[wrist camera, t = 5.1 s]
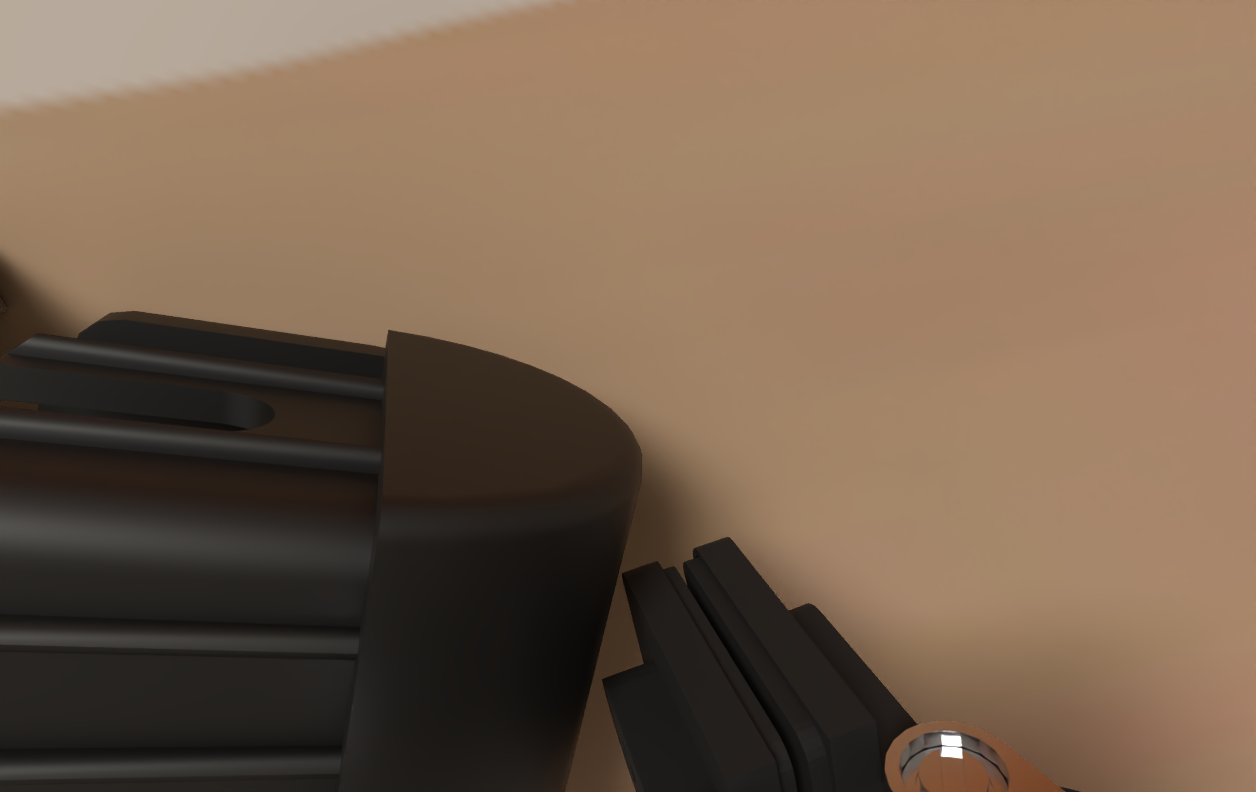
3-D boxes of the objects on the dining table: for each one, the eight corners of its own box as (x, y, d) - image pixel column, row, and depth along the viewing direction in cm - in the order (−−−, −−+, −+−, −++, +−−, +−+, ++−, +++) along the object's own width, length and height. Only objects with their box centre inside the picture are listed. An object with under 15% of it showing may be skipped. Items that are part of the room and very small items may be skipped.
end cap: (476, 819, 16) (526, 1255, 10) (67, 834, 14) (-198, 1413, 8) (577, 345, 13) (731, 538, 7) (92, 268, 11) (-286, 454, 5)
